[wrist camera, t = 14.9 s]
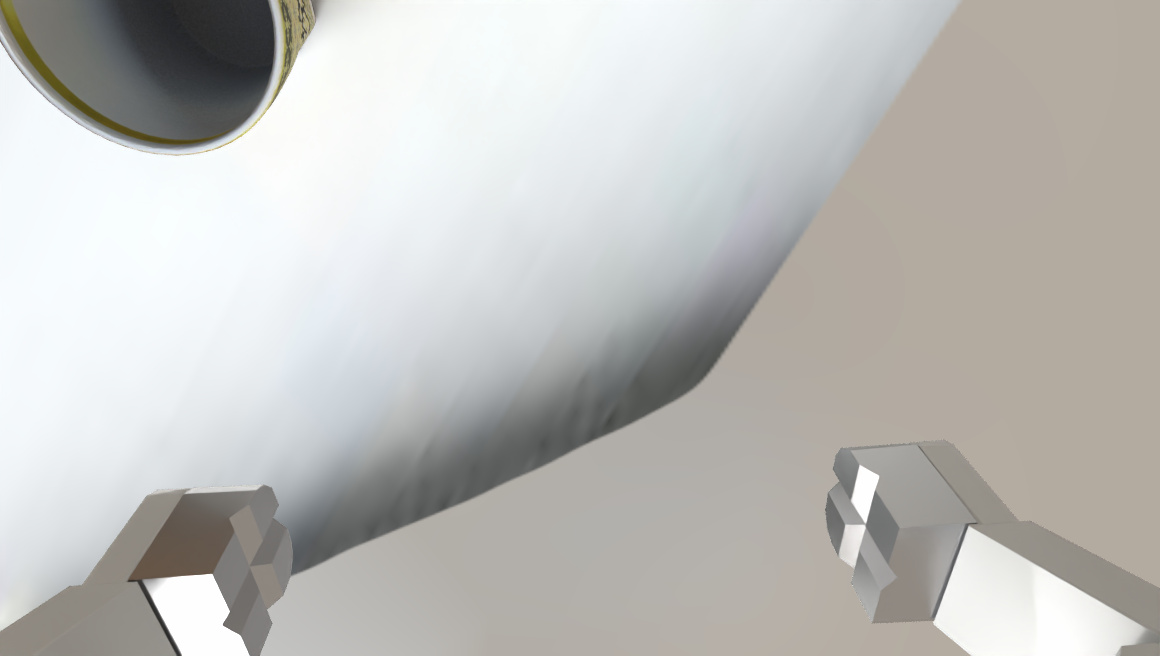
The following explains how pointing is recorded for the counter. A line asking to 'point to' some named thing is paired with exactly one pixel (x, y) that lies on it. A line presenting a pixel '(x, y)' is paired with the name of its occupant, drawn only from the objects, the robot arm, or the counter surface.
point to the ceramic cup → (158, 64)
